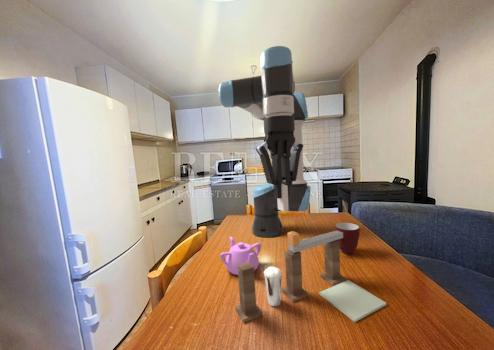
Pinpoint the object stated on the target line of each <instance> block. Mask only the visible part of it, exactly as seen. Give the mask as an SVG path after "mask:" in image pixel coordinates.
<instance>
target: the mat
mask: <svg viewBox="0 0 494 350" xmlns="http://www.w3.org/2000/svg"><path fill="white" fill-rule="evenodd" d="M318 294H319V295H320V296H321V297H322V298H323V299H325V300H326V301H327V302H328V303H330V304H331V305H332V306H334V308H336V309H337V310H339V311H340V312H341V313H342V314H344V315H345V316H346V317H347V318H349V319H350V320H351V321H353V323H356V322H358V321H359V320H362V319H363V318H365V317H367V316H369V315H371V314H372V313H374V312H376V311H378V310H380V309H382V308H384V307H386V306H387V302H386V301H384V300H382V299H380V298H379V297H377V296H376V295H374V294H373V293H370V292H369V291H368V290H366V289H364V288H363V287H361V286H359V285H357V283H354V282H352V281H351V280H349V279H347V280H345V281H342V282H340V283H337V284H335V285H332V286H331V287H328V288H327V289H323V290H322V291H321V290H320V291H319V292H318Z"/></svg>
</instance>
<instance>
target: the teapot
mask: <svg viewBox="0 0 494 350" xmlns="http://www.w3.org/2000/svg"><path fill="white" fill-rule="evenodd" d="M228 238H229V240H230V248H229V251H224V252H221V253H220V254H219V257H220V260H221V261H222V263H223V264H224V265H225V268H226V270H227V271H228V272H229V273H230V274H232V275H235V276H238V266H237V265H239V264H243V263H246V262H249V263H250V264H251V265H252V266H253V267H254V272H255V271H256V270H257V269H258V267H259V265H260V261H259V257H258V256H259V253H260V251H261V248H262V244H261V243H260V242H256V243H254V244H252V245H250V244H249V243H244V242H242V241H240V242H238V243H235V240H234V237H232V236H231V235H229V237H228ZM254 248H256V250H255V249H254Z"/></svg>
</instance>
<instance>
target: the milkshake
mask: <svg viewBox="0 0 494 350" xmlns="http://www.w3.org/2000/svg"><path fill="white" fill-rule="evenodd" d="M260 269H261V271H262V273H263V275H264V281H265V289H266V298H267V303H268V305H269V306H271V307H278V306H279V305H281V301H282V299H281V298H282V297H281V295H282V278H283V277H282V276H283V275H282V274H283V273H282V271H281V269H280V268H278V267H276V266H269V267H268V268H266V269H265V270H264V271H263V269H262V267H260Z"/></svg>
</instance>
